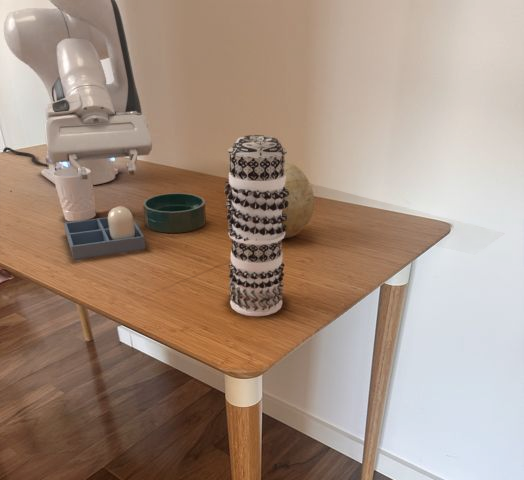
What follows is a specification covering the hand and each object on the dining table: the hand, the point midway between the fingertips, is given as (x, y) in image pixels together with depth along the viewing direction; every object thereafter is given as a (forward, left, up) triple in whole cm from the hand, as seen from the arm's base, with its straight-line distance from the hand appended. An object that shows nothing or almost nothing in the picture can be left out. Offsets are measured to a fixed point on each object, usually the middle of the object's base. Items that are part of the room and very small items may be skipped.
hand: (108, 175), depth 99 cm
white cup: (-14, 0, -12) cm, 19 cm away
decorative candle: (+42, -2, -12) cm, 44 cm away
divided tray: (+3, -5, -12) cm, 13 cm away
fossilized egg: (+26, +23, -12) cm, 37 cm away
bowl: (+5, +12, -12) cm, 17 cm away
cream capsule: (+7, -3, -11) cm, 14 cm away
